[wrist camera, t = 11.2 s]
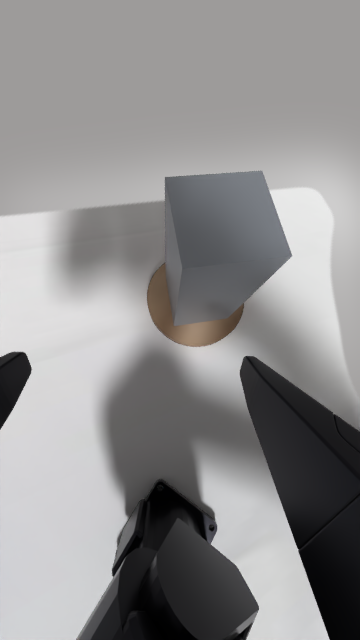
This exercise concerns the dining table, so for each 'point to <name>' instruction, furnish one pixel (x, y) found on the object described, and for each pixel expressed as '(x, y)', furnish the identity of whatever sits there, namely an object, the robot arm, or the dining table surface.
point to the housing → (219, 243)
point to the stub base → (186, 333)
